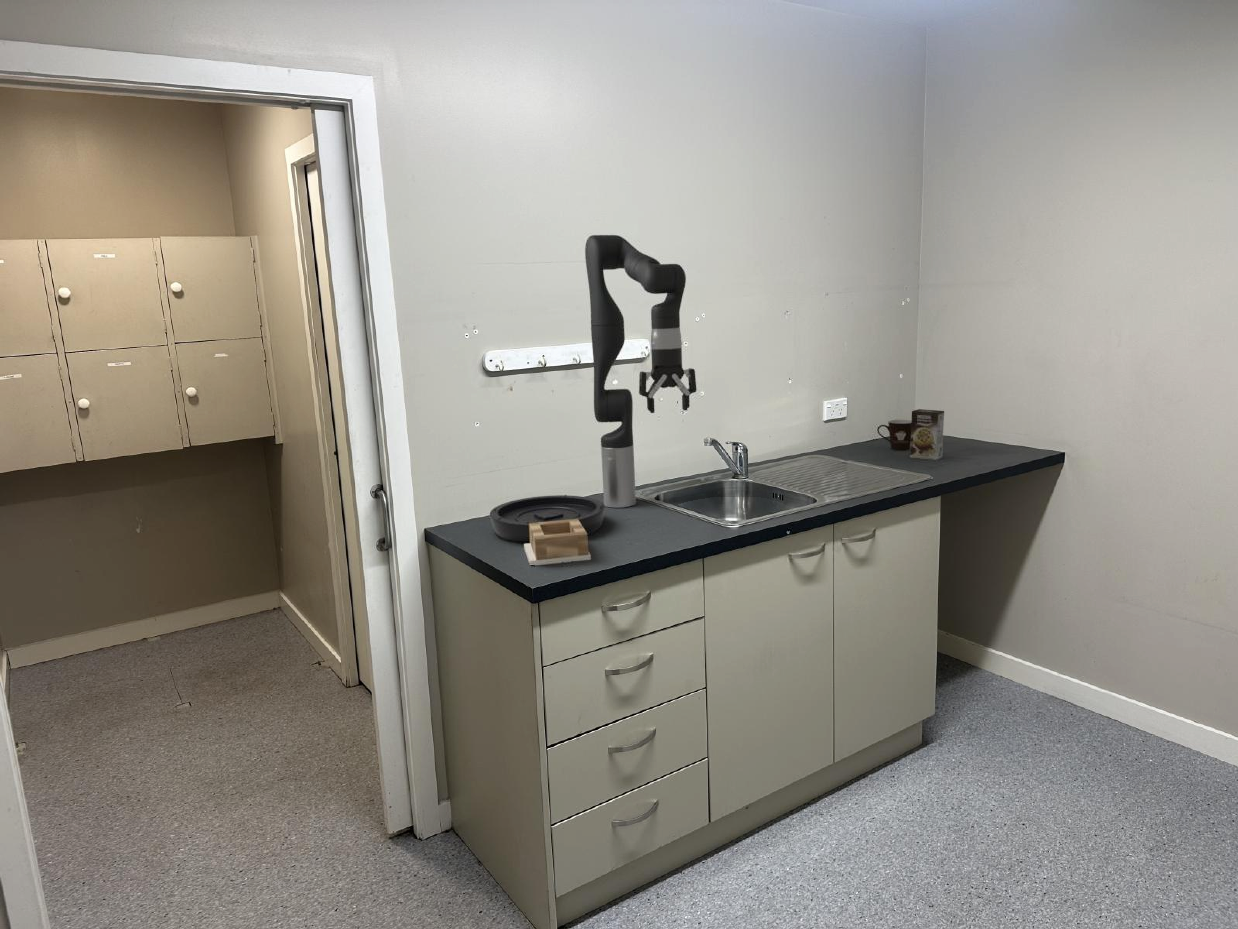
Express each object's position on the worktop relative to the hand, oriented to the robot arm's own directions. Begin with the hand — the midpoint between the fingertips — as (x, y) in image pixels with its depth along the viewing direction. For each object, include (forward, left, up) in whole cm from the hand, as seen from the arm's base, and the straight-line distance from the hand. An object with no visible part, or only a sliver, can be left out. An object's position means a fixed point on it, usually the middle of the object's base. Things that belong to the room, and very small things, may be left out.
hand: (668, 411), depth 214 cm
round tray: (-10, -31, -31) cm, 45 cm away
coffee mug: (-70, +103, -30) cm, 128 cm away
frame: (+13, -32, -29) cm, 45 cm away
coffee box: (-52, +104, -30) cm, 120 cm away
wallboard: (+13, -32, -30) cm, 46 cm away
